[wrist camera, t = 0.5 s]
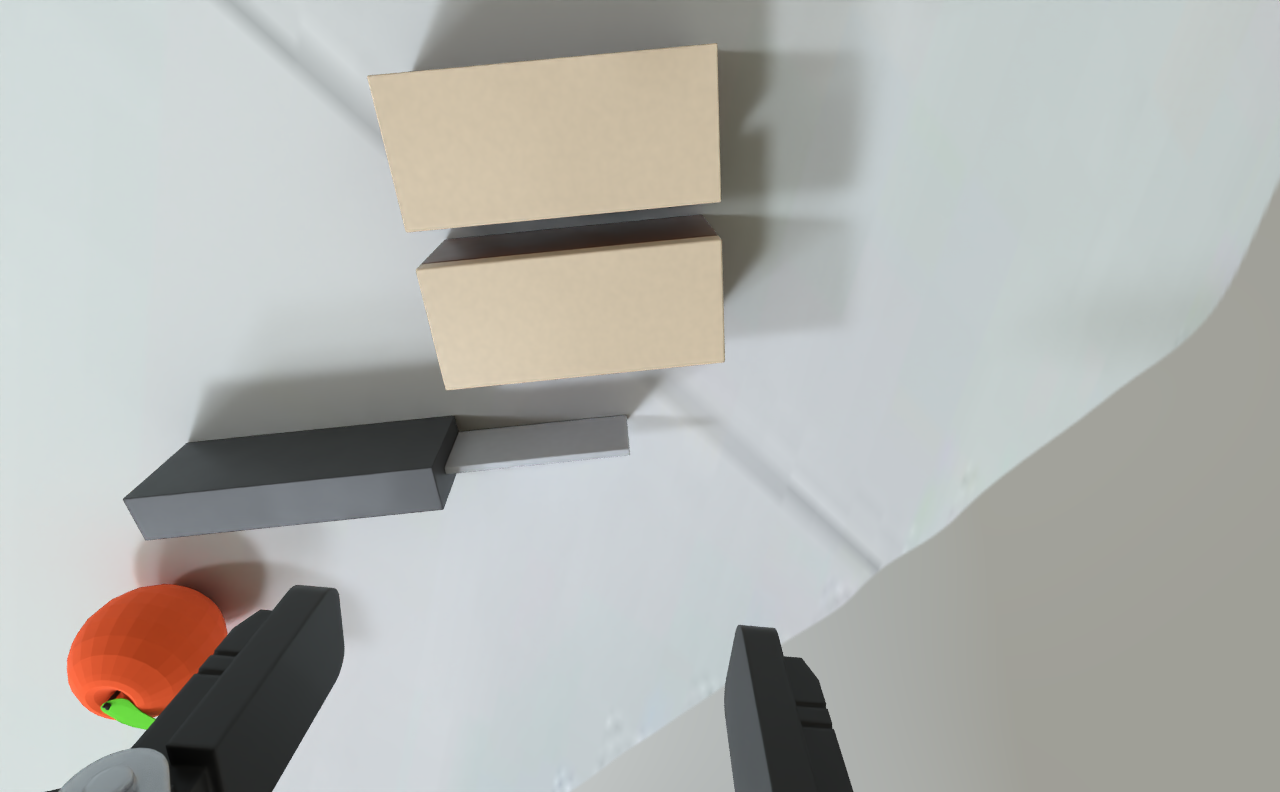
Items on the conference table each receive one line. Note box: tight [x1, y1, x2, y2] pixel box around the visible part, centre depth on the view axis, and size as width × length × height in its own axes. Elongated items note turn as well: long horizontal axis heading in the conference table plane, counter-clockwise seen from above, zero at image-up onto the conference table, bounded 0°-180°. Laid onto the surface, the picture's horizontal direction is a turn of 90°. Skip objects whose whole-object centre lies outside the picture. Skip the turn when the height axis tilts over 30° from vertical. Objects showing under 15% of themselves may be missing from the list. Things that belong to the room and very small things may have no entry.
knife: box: [123, 415, 630, 540], centre depth 31 cm, size 23×2×5 cm, turn 95°
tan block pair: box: [367, 43, 725, 390], centre depth 26 cm, size 12×12×5 cm
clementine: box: [67, 584, 227, 730], centre depth 35 cm, size 8×7×7 cm
